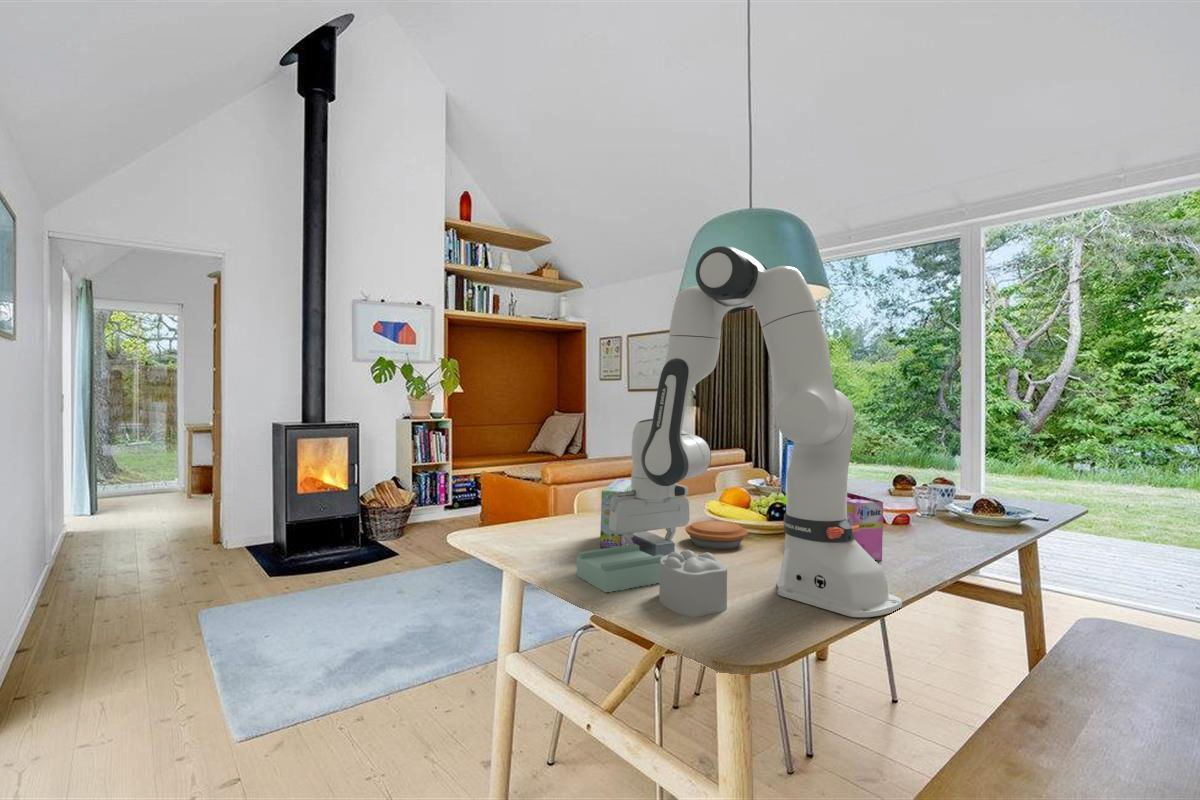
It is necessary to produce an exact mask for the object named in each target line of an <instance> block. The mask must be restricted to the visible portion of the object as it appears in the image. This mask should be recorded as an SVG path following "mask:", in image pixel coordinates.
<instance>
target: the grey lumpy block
mask: <svg viewBox="0 0 1200 800" xmlns="http://www.w3.org/2000/svg"><path fill="white" fill-rule="evenodd" d="M658 585H659V591H658V592H659V593H658V594H659V596H658V597H659V598H658V600H659V603H660V604H661V603H662V604H663V605H662V604H661V605H662V606H664V607H666V608H667V609H669V610H670V611H673V612H674V613H676V614H679V615H681V616H685V617H692V618H693V617H702V616H705V615H709V614H717V613H722V612H725V611H727V610H728V567H727V566H726V565H725V564H723V563H721V562H719V561H717V560H716V558H715V556H714V555H713V553H711V552H703V553H701V554H698V555H696V554H695V553H694V552H693V551H692V550H691V549H684V550H682V551H681V552H678V551H675V552H671V553H670V554H668V555H666V556H663V557H662V558H661V559H660V583H659V584H658Z"/></svg>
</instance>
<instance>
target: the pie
mask: <svg viewBox="0 0 1200 800" xmlns="http://www.w3.org/2000/svg"><path fill="white" fill-rule="evenodd" d="M684 530H685V532H686V533H687V535H689V538H690V540H691V541H692V543H693V545H695V546H697V547H700V548H704V549H709V548H710V550H711V549H712V550H730V549H729V548H731V549H735V548H737V547H739V546H740V545H741V542H742V541H743V539H744V538H745V537H746V536H747V535H748V534H749V531H748V530H747V529H746V528H745V527H743V526H742V525H740V524H738V523H734V522H729V521H724V520H701V521H696V522H692V523H691V524H689V525H686V526H685V528H684Z"/></svg>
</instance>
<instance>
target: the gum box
mask: <svg viewBox="0 0 1200 800" xmlns="http://www.w3.org/2000/svg"><path fill="white" fill-rule="evenodd" d="M847 517H848V518H849V521H850V523H851V526H856V525H859V526H860V527H858V528H856V529H855V530H860V531H857V532H854V535H855V541H856V542H857V543H858V544H859V545H860V546H861V547H862V548H863V549H864V550H865V551H866V552H867V553H868V554H869V555H870V556H871V557H872V558H873V559H874V560H880V561H882V560H883V535H884V534H883V533H884V530H883V529H884V528H883V527H884V525H883V524H884V523H883V521H884V520H883V518H884V502H883V501H882V500H878V499H875V498H870V497H866V496H864V495H863V496H862V495H858V494H855V493H851V492H848V491H847Z"/></svg>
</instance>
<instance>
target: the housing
mask: <svg viewBox="0 0 1200 800" xmlns="http://www.w3.org/2000/svg"><path fill="white" fill-rule="evenodd" d="M631 539H632V541H633V543H634V544H637V545H639V550H640V551H642V552H645V553H647V554H649V555H652V556H656V555H663V556H666V555H668V554H670V553H671V552H676V551H675V550H676V549H675V546H676V543H674V541H672V540H671V541H670V540H668V539H665V537H662V536H660V535H657V534H654V533H652V532H651V531H650V532H649V531H643V532H635V533H633V537H632V538H631Z"/></svg>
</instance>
